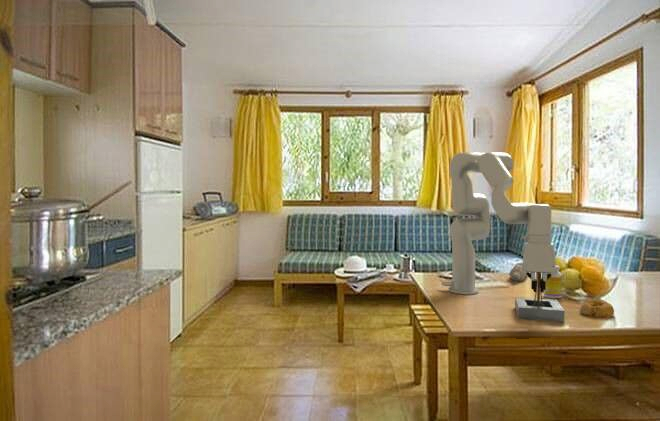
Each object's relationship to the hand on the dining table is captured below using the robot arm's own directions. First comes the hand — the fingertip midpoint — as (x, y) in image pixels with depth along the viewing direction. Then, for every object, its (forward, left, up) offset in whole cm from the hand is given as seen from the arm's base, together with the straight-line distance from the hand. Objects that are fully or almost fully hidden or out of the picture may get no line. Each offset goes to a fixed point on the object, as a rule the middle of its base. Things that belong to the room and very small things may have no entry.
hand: (538, 291), depth 156 cm
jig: (0, 0, -8) cm, 8 cm away
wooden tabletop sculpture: (0, 0, -7) cm, 7 cm away
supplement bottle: (+9, +30, -9) cm, 32 cm away
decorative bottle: (-2, +66, -9) cm, 66 cm away
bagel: (+20, +7, -9) cm, 23 cm away
